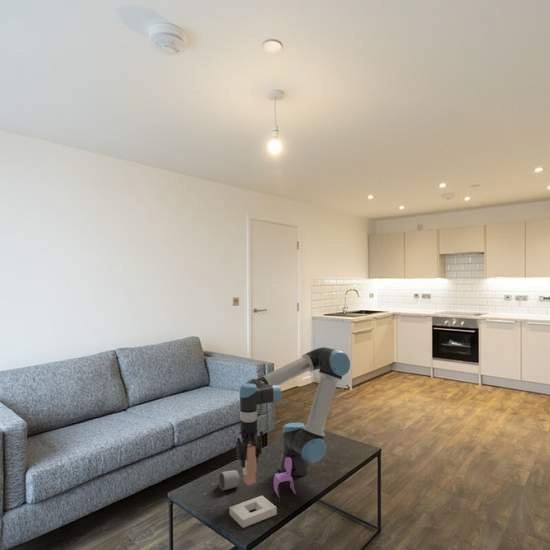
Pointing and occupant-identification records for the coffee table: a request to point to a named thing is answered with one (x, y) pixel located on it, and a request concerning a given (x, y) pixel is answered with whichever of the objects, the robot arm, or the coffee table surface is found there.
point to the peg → (250, 465)
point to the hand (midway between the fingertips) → (249, 472)
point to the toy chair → (284, 476)
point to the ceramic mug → (229, 479)
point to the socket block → (246, 518)
